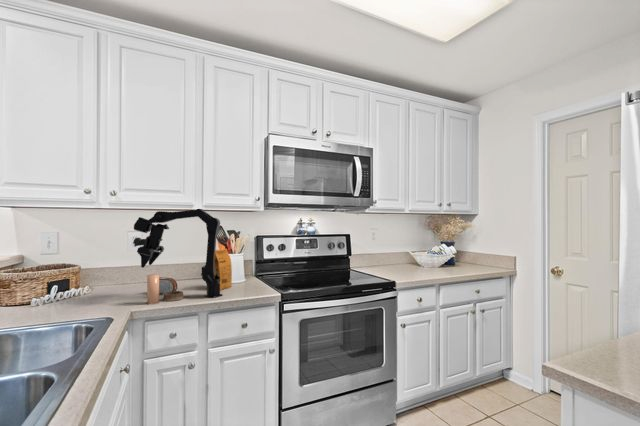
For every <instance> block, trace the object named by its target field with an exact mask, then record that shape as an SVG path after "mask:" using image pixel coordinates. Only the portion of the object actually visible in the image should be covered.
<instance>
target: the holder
mask: <svg viewBox="0 0 640 426" xmlns="http://www.w3.org/2000/svg"><path fill="white" fill-rule="evenodd" d="M183 299H184V291H181V290H176V291H171V292H166V293H164V294H163V299H162V300H163V301H164V302H178V301H181V300H183Z"/></svg>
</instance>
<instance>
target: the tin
mask: <svg viewBox="0 0 640 426" xmlns="http://www.w3.org/2000/svg"><path fill="white" fill-rule="evenodd" d="M171 291H178V283H177V281H176V279H174V278H173V277H162V276H159V295H164V293H166V292H171Z"/></svg>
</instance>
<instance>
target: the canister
mask: <svg viewBox="0 0 640 426" xmlns="http://www.w3.org/2000/svg"><path fill="white" fill-rule="evenodd" d="M159 277H160V274H159V273H158V274H157V273H156V274H155V273H152V274H147V275H146V287H147V289H146V290H147V291H146V304H147V305H156V304H159V303H160V294H159Z"/></svg>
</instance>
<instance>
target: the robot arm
mask: <svg viewBox="0 0 640 426" xmlns="http://www.w3.org/2000/svg"><path fill="white" fill-rule="evenodd" d="M188 218H189V219H191V218H199V219H200V220H201V221H203V223H205V224H206V232H207V244H206V245H207V247H206V259H205V260H206V261H205V264H204V265H203V266H201V274H200V276H201V278H202V280H203V281H204V282H205V284H206V294H204V297H206V298H212V299H213V298H216V297H217V298H218V297H222V296H223V294H221V290H220V284H219V282H220V279H221V278H220V277H219V276H218V275H217V274H216V267H215V250H217V249H216V248H217V236H218V233H219V230H220V227H221V220H220V219H219V218H218V217H213V216H212V215H211V214H209V213H208V212H206V211H205V210H204V209H203V208H197V209H196V208H195V209H190V210H189V209H188V210H180V211H156V212H155V213H154V215H153V216H151V218H149V219H147V218H144V217H140V216H139V217H138V218H137V220H136V221H135V223H134V224H133V230H134V231H137V232H140V233H144V234H148V233H149V235H148V236H146V238H141V237H135V239H134V240H133V242H132V243H133V244H134V247H138V246H139V247H138V248H137V251H136V252H137V254H138V255H139V257H140V268H145V267H146V265H147V264H148V265H149V266H151V265H153V263H154V262H155V261H156V260H157V259H158V258H159V256H161V254H162V253H163V252H164V250H165V247H164V246H163V245H160V244H161V242H162V241H163V235H164V231H165V230H170V227H169V226H168V222H172V221H175V220H181V219H188Z"/></svg>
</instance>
